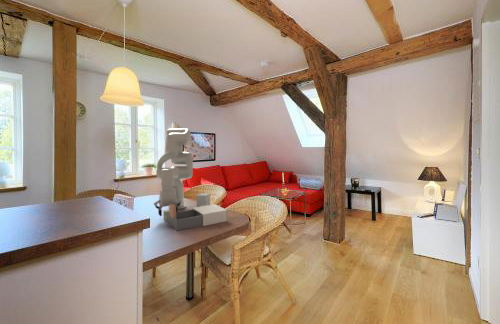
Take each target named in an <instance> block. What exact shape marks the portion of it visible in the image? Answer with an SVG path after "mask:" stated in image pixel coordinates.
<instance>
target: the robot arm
mask: <svg viewBox="0 0 500 324" xmlns="http://www.w3.org/2000/svg"><path fill="white" fill-rule="evenodd" d="M190 138H191V131H190V129H189V128H178V127H177V128H174V127H172V128H168V129H167V130H166V143H165V153H164V154H163V155H161V157H160V158H159V159H158V162H157V163H156V172H155V173H156V177H157V179H158V180H159V179H160V182H161V189H160V190H159V194H158V195H159V197H158V200H156V201H155V202H153V206H154V207H155V208H156V209H157V211H158V212H157V213H158V215H159V216H160V217H162V215H163V212H162V210H163V209H162V208H163V207H168V208H169V209H170V206H169V204H174V205H175V206H176V212H179V210H181V209H185V208H186V207H187V204H185V203H184V202H185V200H184V199H185V198H184V197H185V196H184V182H183V181H182V180H183V179H186V180H187V179H192V177H193V174H194V171H193V170H194V168H193V167H194V164H193V163H194V160H193V159H194V157H193V154H192V153H191V152H189V151H184V150H183V149H184V147H183V146H185V145H188V143H189V141H190ZM169 160H170V161H171V164H173V165H174V166H171V167H163V165H164V164H165V163H166V162H168V161H169ZM158 204H159V205H158Z"/></svg>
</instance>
